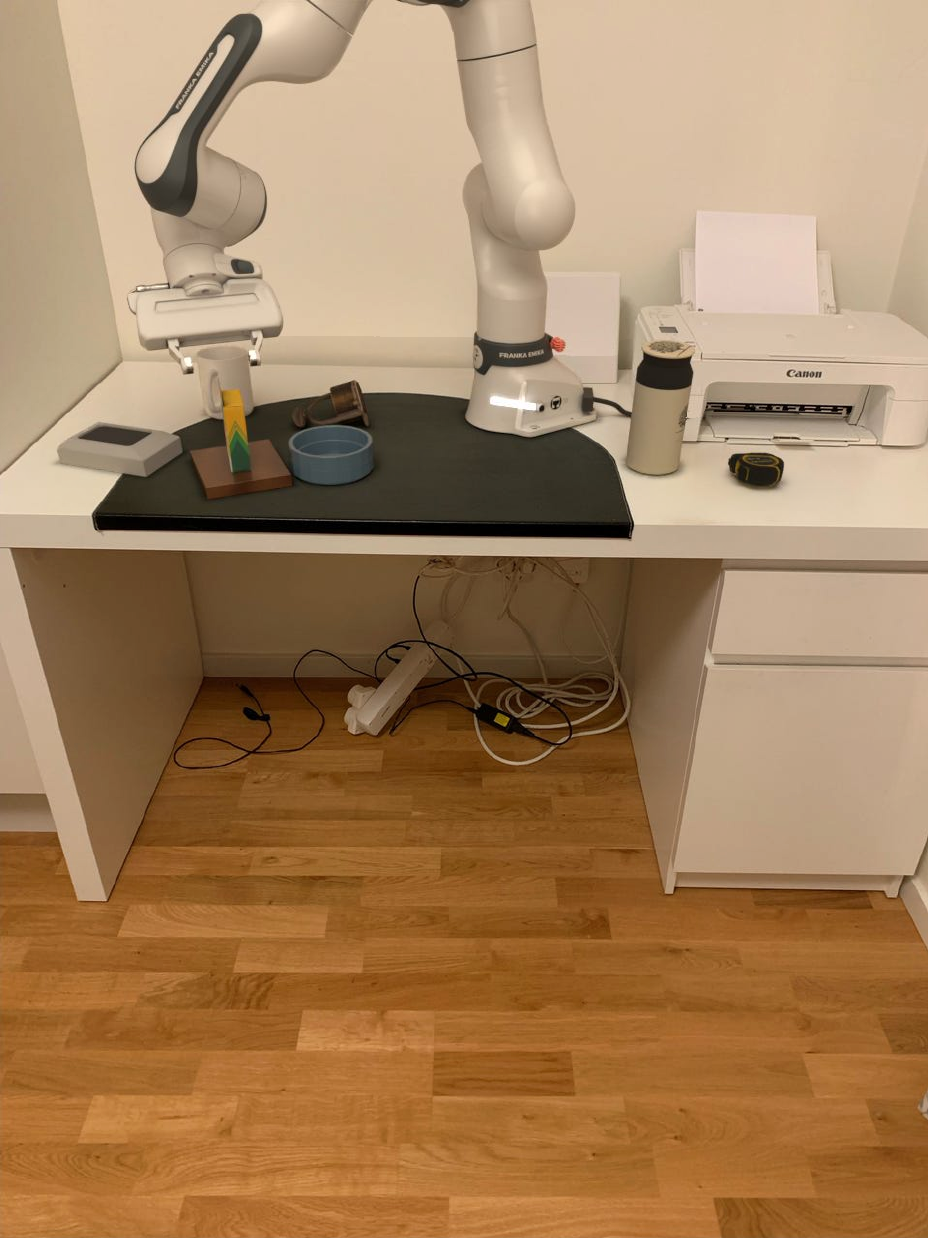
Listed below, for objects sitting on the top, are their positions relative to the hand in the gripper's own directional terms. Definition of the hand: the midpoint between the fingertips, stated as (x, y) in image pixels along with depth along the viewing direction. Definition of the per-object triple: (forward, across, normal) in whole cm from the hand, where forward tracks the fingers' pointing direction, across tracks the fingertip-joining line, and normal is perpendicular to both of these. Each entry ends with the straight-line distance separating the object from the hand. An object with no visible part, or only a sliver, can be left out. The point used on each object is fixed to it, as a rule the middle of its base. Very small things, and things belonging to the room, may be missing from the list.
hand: (222, 368), depth 123 cm
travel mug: (+28, +58, -6) cm, 65 cm away
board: (+13, 0, +8) cm, 15 cm away
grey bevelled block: (+4, -16, +17) cm, 23 cm away
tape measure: (+35, +69, -13) cm, 79 cm away
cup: (-4, +2, +26) cm, 26 cm away
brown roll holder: (+3, +18, +18) cm, 26 cm away
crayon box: (+12, 0, +7) cm, 14 cm away
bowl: (+15, +13, +6) cm, 21 cm away
